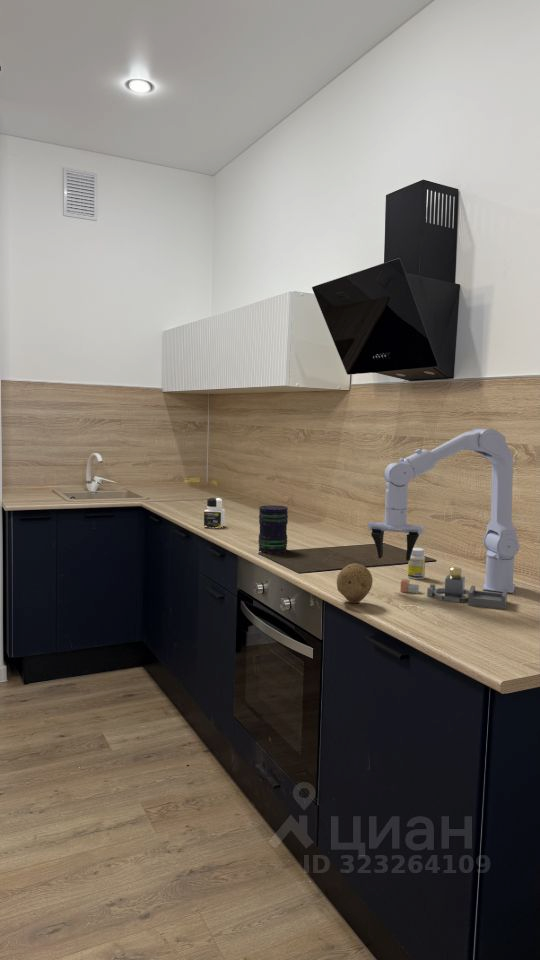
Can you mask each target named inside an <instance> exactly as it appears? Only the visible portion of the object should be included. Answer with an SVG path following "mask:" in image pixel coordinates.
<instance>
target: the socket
mask: <svg viewBox="0 0 540 960" xmlns="http://www.w3.org/2000/svg"><path fill="white" fill-rule="evenodd" d="M469 590H470V589H469ZM469 590H468V589H466V588H464V595H466V596H464V597H462V598H458V597H449V596H445V595H443V593H445V587H438V588H436V583H434V584H433V583H430V585H429V587H427V590H426V591H427V593H426V595H427V597H431V598H433V597H434V598H436V599H438V600H441V601H445V602H451V603H452V602H454V603H468V592H469ZM441 593H442V594H441Z"/></svg>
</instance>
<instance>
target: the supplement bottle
mask: <svg viewBox="0 0 540 960" xmlns="http://www.w3.org/2000/svg"><path fill="white" fill-rule="evenodd" d="M407 562H408V563H407V578H408V579H412V580H423V579H425V572H426V571H425V569H426V563H425V562H426V556H425V550H424V548H422V547H421V548H420V547H413V550H412V553H411V558H410V560H409V561H407Z"/></svg>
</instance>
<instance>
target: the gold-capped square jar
mask: <svg viewBox="0 0 540 960" xmlns="http://www.w3.org/2000/svg"><path fill="white" fill-rule="evenodd" d="M462 570H463V569H462V568H461V567H457V566H455V567H454V566H451V567H449V572H448V573H449V574H448V575H446V577H445V579H444V588H445V592H444V596H449V597H458V598H462V597H465V594H464V589H465V585H466V577H465V576H462Z"/></svg>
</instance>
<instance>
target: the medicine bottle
mask: <svg viewBox="0 0 540 960" xmlns="http://www.w3.org/2000/svg"><path fill="white" fill-rule="evenodd" d="M206 501H207V502H206V508H207V509H204V511H203V527H204V526H207V527H218V528H221V527H222V528H224V527H225V526H224V525H225V523H226V522H225V521H226V519H225V518H226V514H225V513H226V510H225V508H223V499H222V498H219V497H210V498H207V500H206ZM223 526H224V527H223ZM222 528H221V529H222Z"/></svg>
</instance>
